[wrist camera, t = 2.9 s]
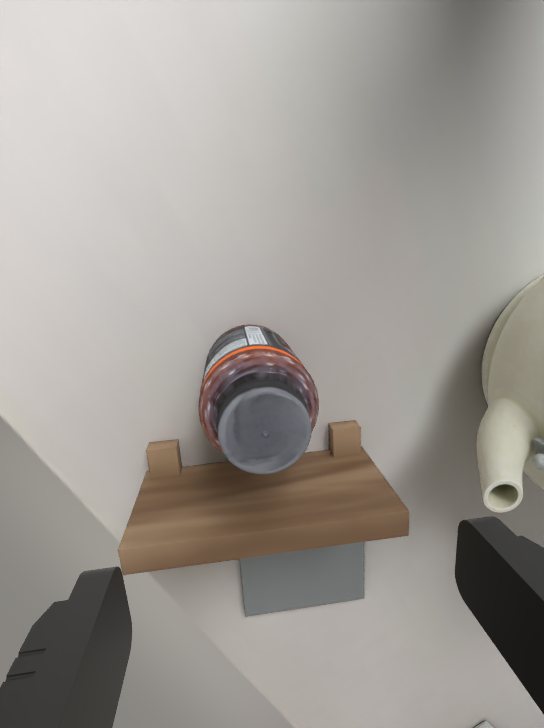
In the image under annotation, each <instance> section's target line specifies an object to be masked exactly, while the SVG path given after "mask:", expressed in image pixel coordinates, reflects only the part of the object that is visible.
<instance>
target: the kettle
mask: <svg viewBox="0 0 544 728" xmlns="http://www.w3.org/2000/svg"><path fill="white" fill-rule="evenodd" d="M482 386H483V391H484V395H485V399H486V402H487V404H488V408H487V410H486V412H485V414H484V416H483V418H482V421H481V423H480V426H479V429H478V434H477V446H476V447H477V460H478V468H479V476H480V483H481V491H482V498H483V502H484V504H485V506H486V507H487V508H488V509H489V510H491V511H493V512H498V513H503V512H508V511H511V510H513V509H514V508H516V507H517V506H518V505H519V504H520V502H521V501H522V498H523V484H522V473H523V472H524V473H525V474H526V475H527V476H528V477H529V478H530V479H531V480H532V481H533V482H534V483H535V484H536V485H538V486H539V487H540V488H541V489H543V490H544V274H543V275H542V276H540V277H538V278H537V279H535V280H534V281H532V282H531V283H530V284H528V285H527V286H526V287H525V288H524V289H522V290H521V291H520V292H519V293H518V294H517V295H516V296H515V297H514V298H513V299H512V300H511V301H510V303H509V304H508V305H507V306H506V308H505V309H504V310H503V312H502V313H501V315H500V316H499V318H498V320H497V321H496V323H495V325H494V327H493V329H492V331H491V333H490V336H489V338H488V341H487V344H486V347H485V351H484V356H483V362H482Z"/></svg>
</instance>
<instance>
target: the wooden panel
mask: <svg viewBox="0 0 544 728" xmlns="http://www.w3.org/2000/svg"><path fill="white" fill-rule="evenodd" d="M329 446H330V450H326V451H317V452H309V453H303V454H302V456H301V457H300V458H299V459H298V460H297V461H296V462H295V463H294V464H292V465H291V466H290V467H288V468H286V469H284V470H282V471H279V472H276V473H272V474H253V473H249V472H246V471H244V470H241V469H239V468H238V467H236V466H234V465H233V464H232V463H231V462H221V463H212V464H204V465H195V466H186V467H182V464H181V457H180V449H179V442H178V440H169V441H159V442H150V443H149V445H148V447H147V450H146V452H147V458H148V464H149V471H147V472H146V475H145V477H144V480H143V483H142V486H141V488H140V491H139V494H138V497H137V499H136V502H135V505H134V508H133V510H132V513H131V516H130V519H129V521H128V524H127V527H126V529H125V532H124V535H123V538H122V540H121V543H120V546H119V549H118V552H119V557H120V563H121V568H122V573H123V575H127V574H134V573H141V572H148V571H156V570H163V569H170V568H177V567H185V566H192V565H199V564H206V563H213V562H221V561H228V560H235V559H242V558H250V557H257V556H264V555H271V554H278V553H286V552H293V551H300V550H307V549H315V548H322V547H329V546H336V545H343V544H351V543H358V542H365V541H372V540H380V539H387V538H394V537H401V536H408V532H409V511H408V509H407V508H406V506H405V505H404V504H403V502H402V501H401V500H400V498H399V497H398V495H397V494H396V493H395V491H394V490H393V489H392V487H391V486H390V485H389V483H388V482H387V480H386V479H385V478H384V476H383V475H382V474H381V472H380V471H379V469H378V468H377V467H376V465H375V464H374V463H373V461H372V460H371V458H370V457H369V456H368V454H367V453H366V452H365V450H364V449H363V448H362V446H361V427H360V426H359V425H358V423H357V422H356V421H355V420H354V421H345V422H336V423H329Z"/></svg>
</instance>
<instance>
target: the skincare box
mask: <svg viewBox="0 0 544 728" xmlns="http://www.w3.org/2000/svg"><path fill="white" fill-rule="evenodd" d="M475 728H494V727H493V726H492V725H490V724H489V723H488V722H487V721H484V722H482V723H481V724H479V725H478V726H476V727H475Z"/></svg>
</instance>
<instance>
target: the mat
mask: <svg viewBox="0 0 544 728" xmlns="http://www.w3.org/2000/svg"><path fill="white" fill-rule="evenodd" d="M240 567H241V577H242V587H243V596H244V606H245V616H253V615H259V614H266V613H272V612H279V611H285V610H292V609H298V608H305V607H312V606H318V605H325V604H331V603H338V602H344V601H351V600H357V599H364V542H358V543H351V544H343V545H336V546H329V547H322V548H315V549H307V550H300V551H293V552H286V553H278V554H271V555H264V556H257V557H250V558H242V559H240Z"/></svg>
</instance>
